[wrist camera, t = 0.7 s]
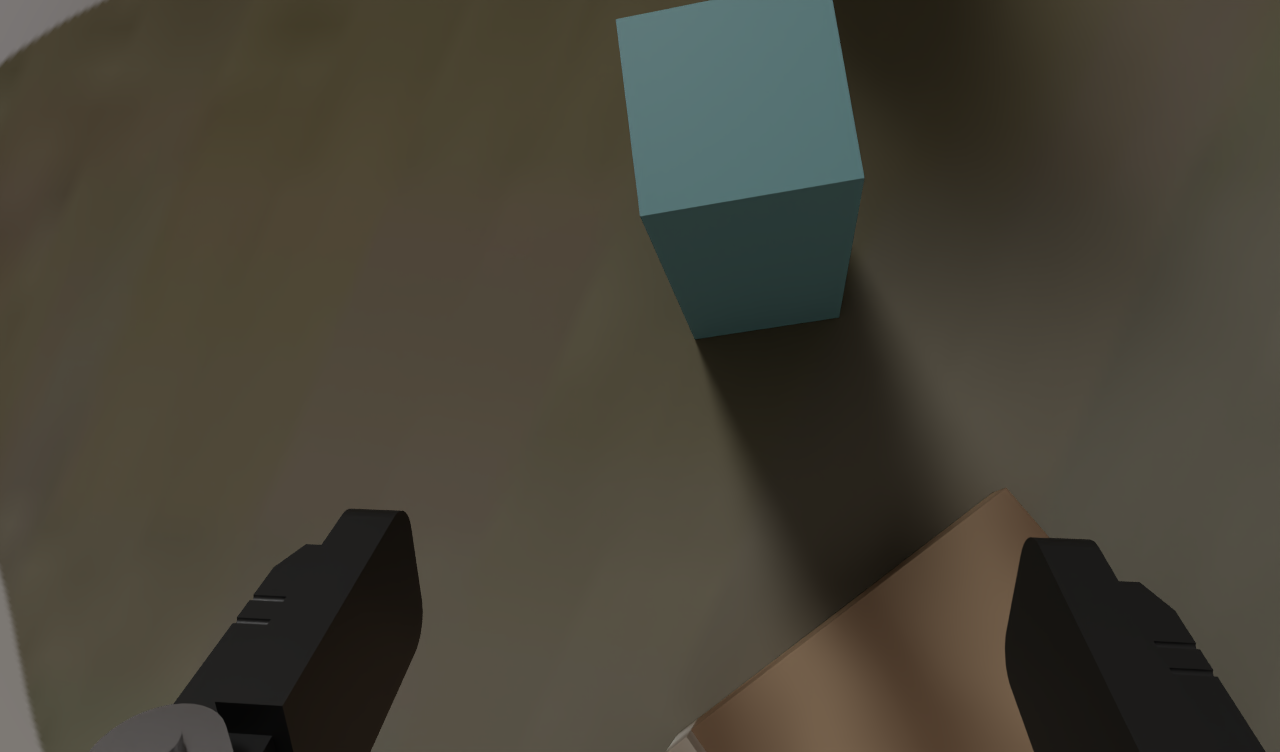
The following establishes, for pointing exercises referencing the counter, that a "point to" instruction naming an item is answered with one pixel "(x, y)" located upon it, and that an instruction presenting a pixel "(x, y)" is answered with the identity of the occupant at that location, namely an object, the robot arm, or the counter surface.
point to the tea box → (744, 158)
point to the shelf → (896, 658)
